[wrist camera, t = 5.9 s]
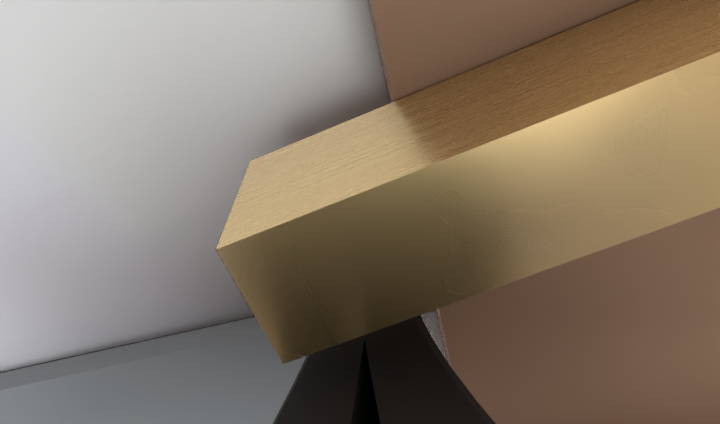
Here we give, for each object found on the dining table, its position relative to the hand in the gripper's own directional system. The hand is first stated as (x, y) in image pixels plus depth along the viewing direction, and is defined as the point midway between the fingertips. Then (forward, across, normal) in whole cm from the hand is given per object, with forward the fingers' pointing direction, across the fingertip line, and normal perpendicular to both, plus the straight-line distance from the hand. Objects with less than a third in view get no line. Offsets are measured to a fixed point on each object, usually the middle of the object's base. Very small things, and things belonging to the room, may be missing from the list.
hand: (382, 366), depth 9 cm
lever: (+1, -3, -3) cm, 4 cm away
